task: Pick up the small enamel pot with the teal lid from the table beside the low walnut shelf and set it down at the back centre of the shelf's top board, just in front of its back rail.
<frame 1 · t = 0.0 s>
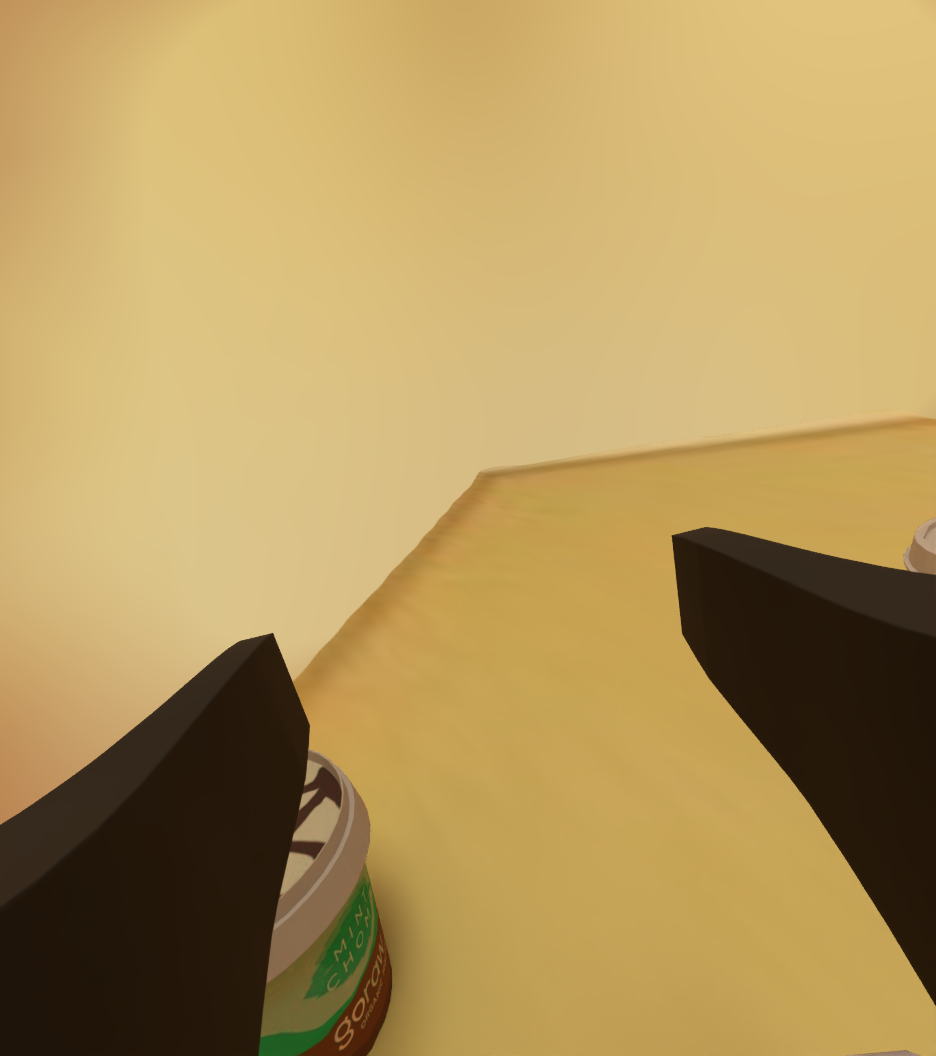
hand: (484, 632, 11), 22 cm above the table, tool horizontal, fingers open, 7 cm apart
food container: (351, 1007, 27), on the table
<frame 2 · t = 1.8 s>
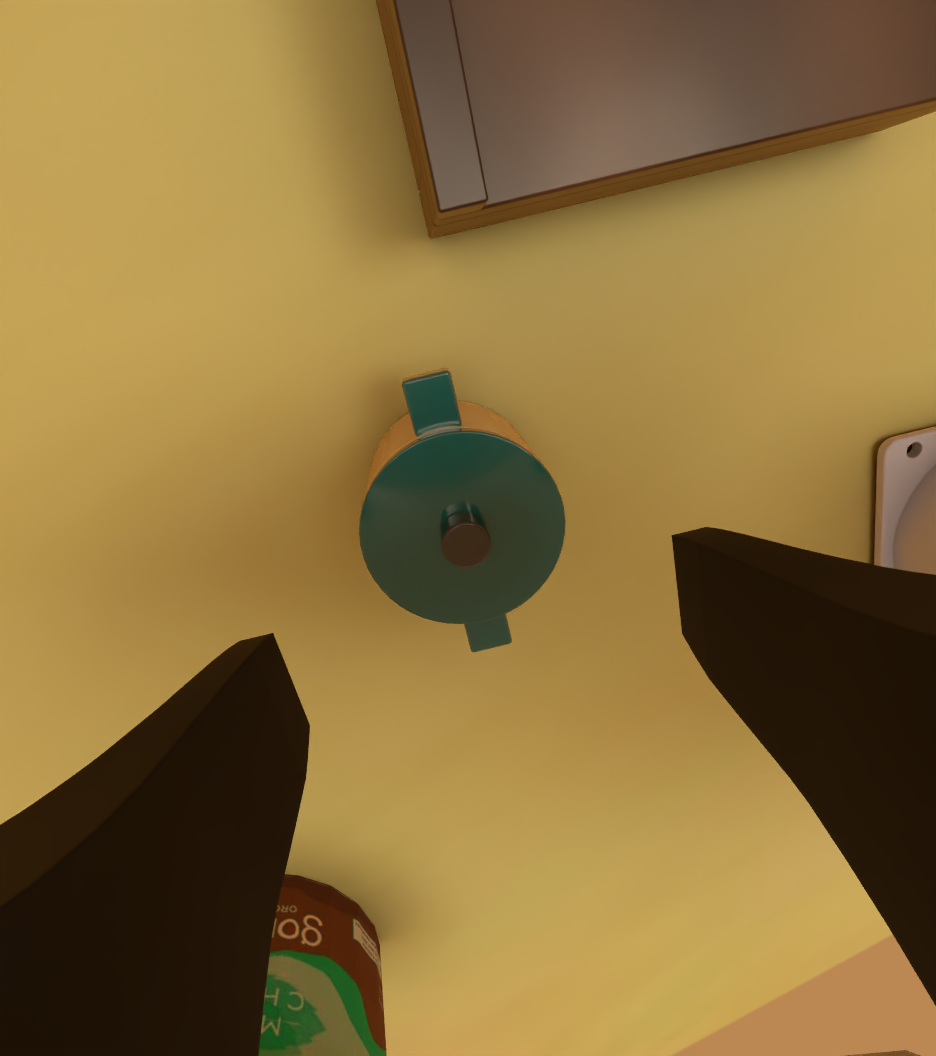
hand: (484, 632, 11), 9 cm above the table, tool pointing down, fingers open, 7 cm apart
food container: (260, 903, 26), on the table
pot: (451, 481, 20), on the table
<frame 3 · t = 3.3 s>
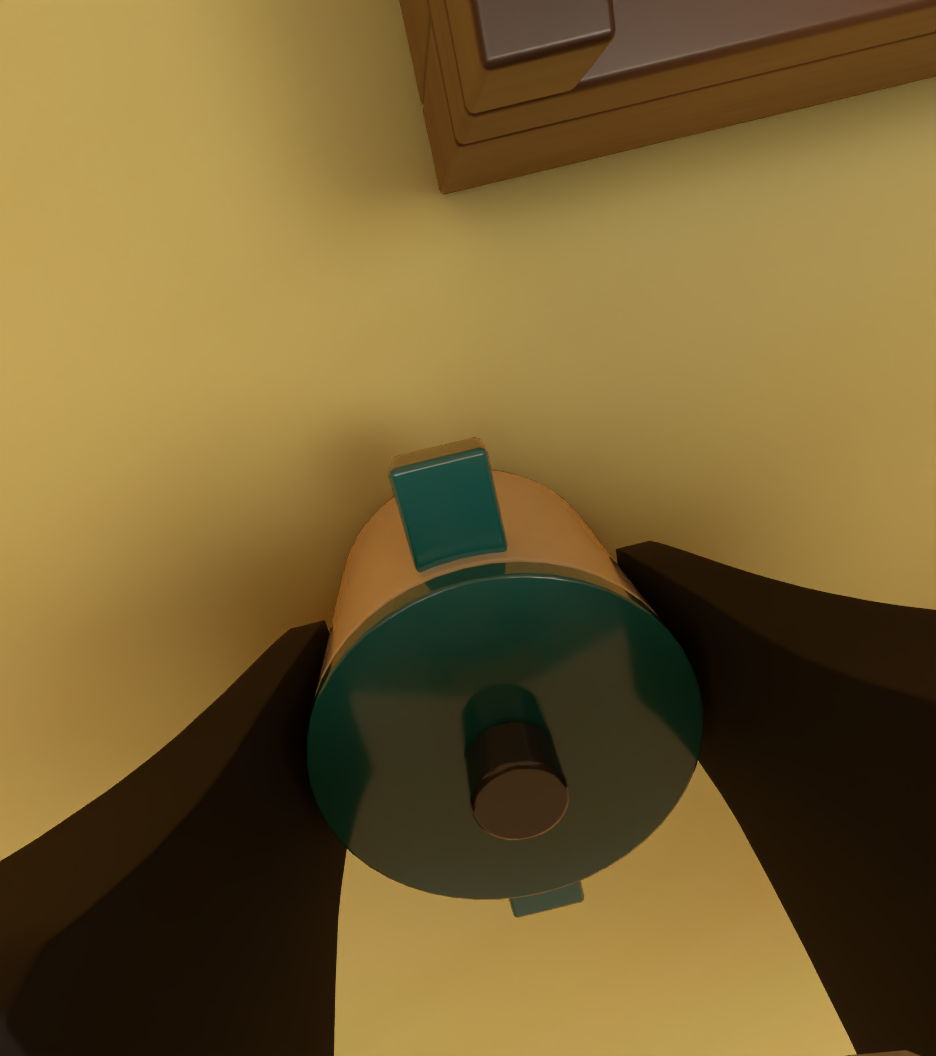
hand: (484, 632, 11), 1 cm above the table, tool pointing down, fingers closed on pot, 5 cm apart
pot: (474, 594, 12), on the table, touching gripper
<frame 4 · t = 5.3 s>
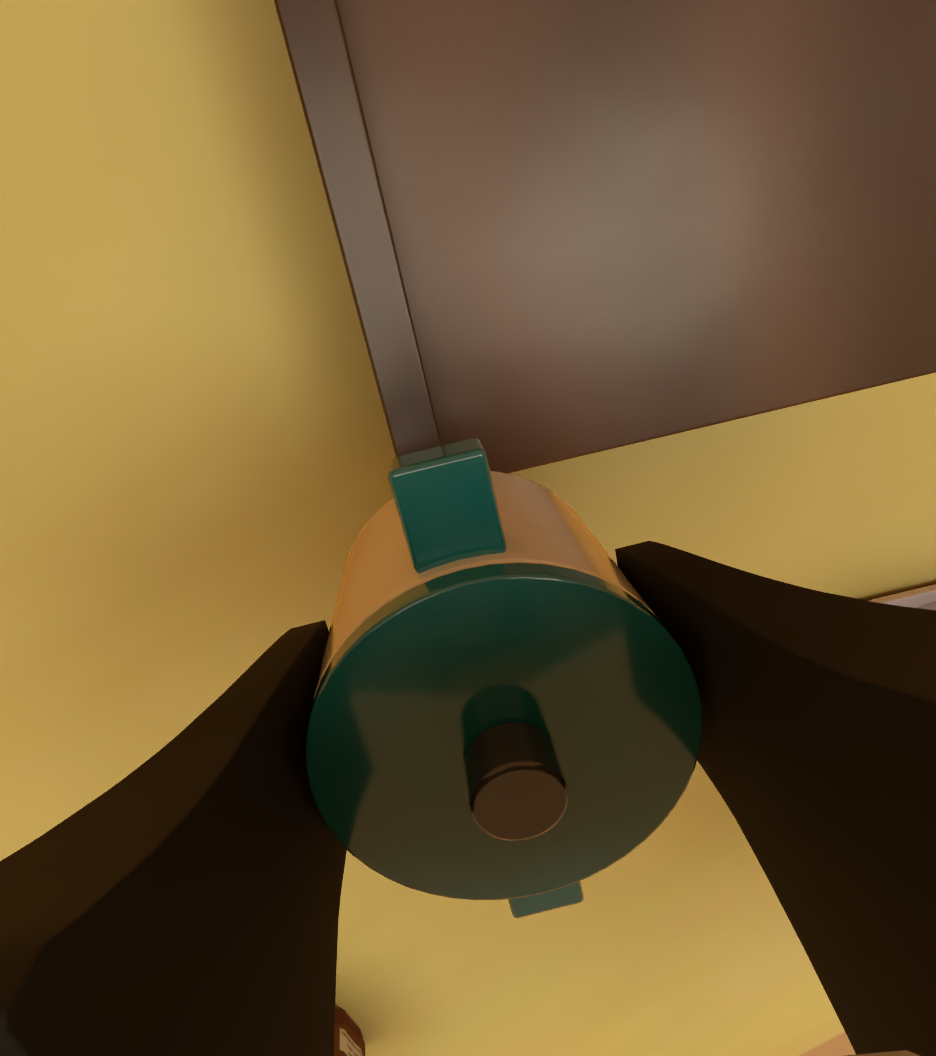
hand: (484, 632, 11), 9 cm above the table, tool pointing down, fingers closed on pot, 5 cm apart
shelf: (573, 52, 15), on the table
food container: (252, 1010, 27), on the table
pot: (473, 595, 12), point 7 cm above the table, touching gripper
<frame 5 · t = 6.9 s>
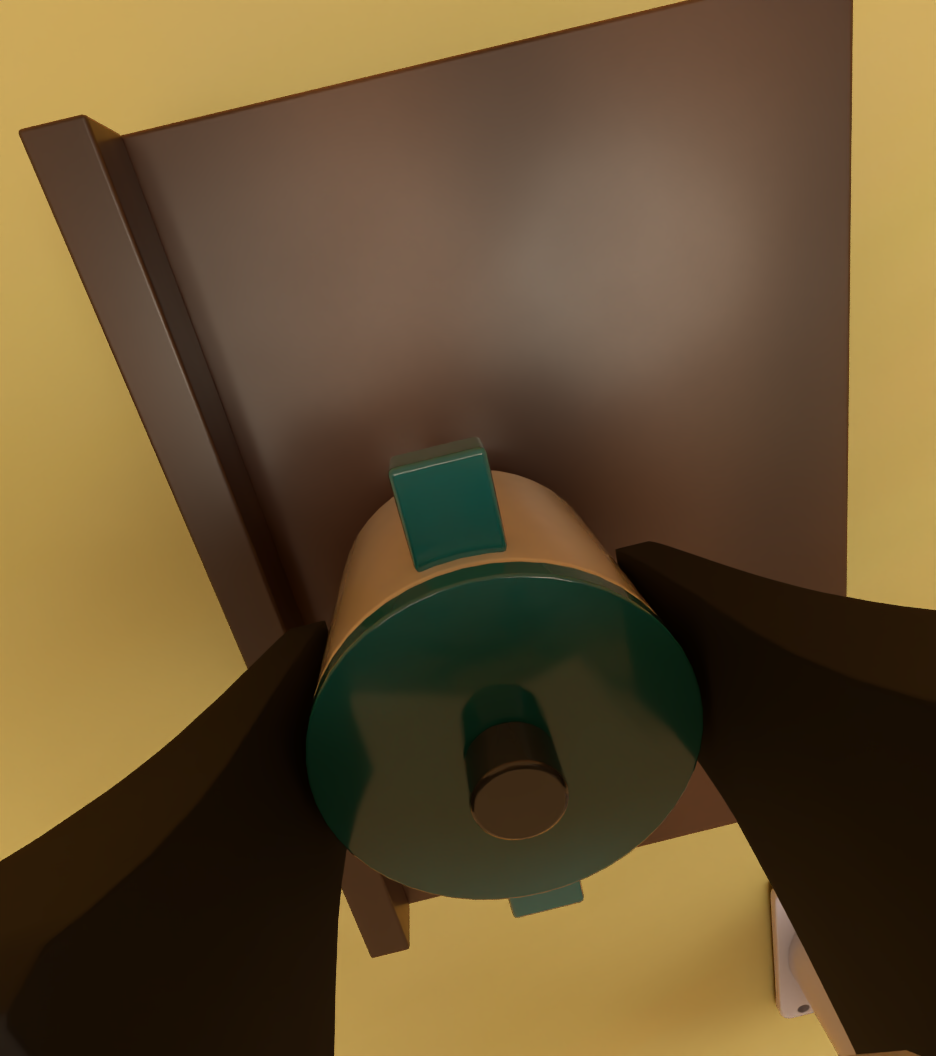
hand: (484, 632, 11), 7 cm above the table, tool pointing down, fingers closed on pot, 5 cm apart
shelf: (518, 492, 17), on the table
pot: (473, 594, 12), point 5 cm above the table, touching gripper
when the fingers open (6 cm above the table, at t = 7.7 s): pot stays where it is, resting on shelf.
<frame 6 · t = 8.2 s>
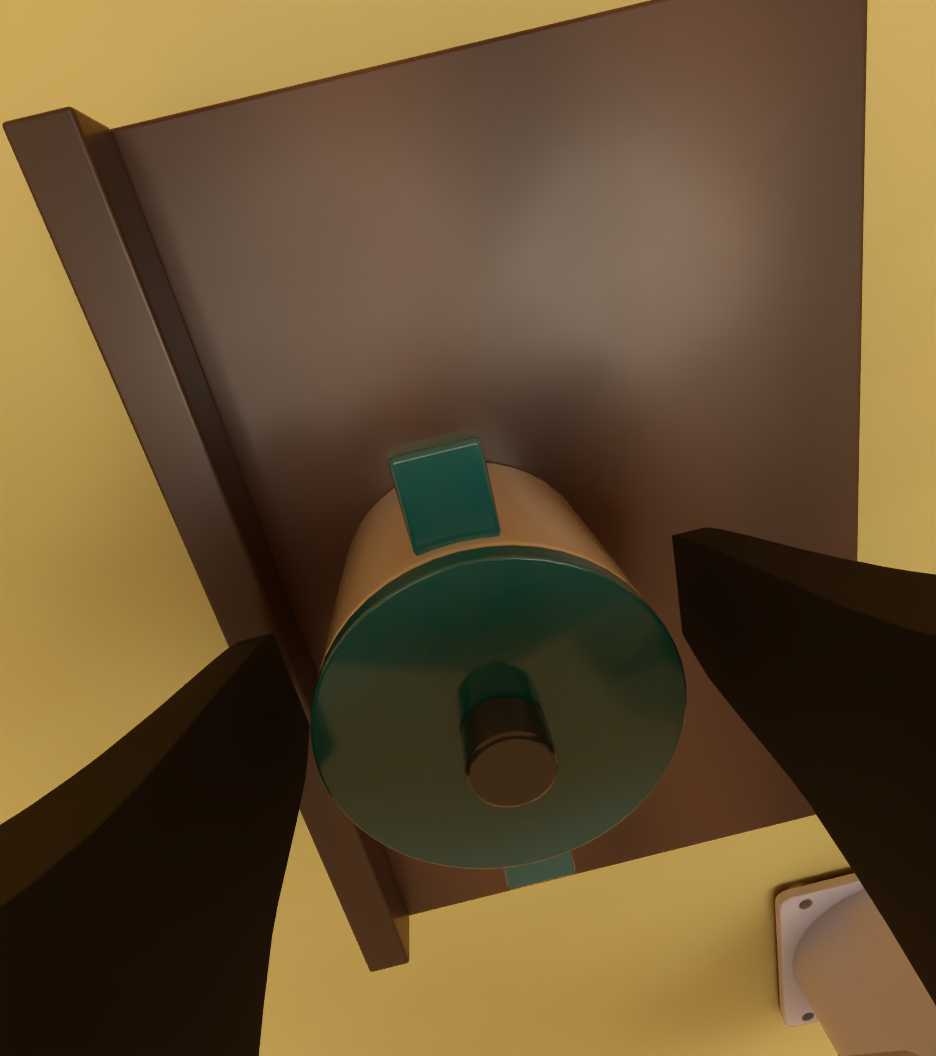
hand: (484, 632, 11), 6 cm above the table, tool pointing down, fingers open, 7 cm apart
shelf: (520, 496, 17), on the table
pot: (470, 583, 13), point 4 cm above the table, touching shelf
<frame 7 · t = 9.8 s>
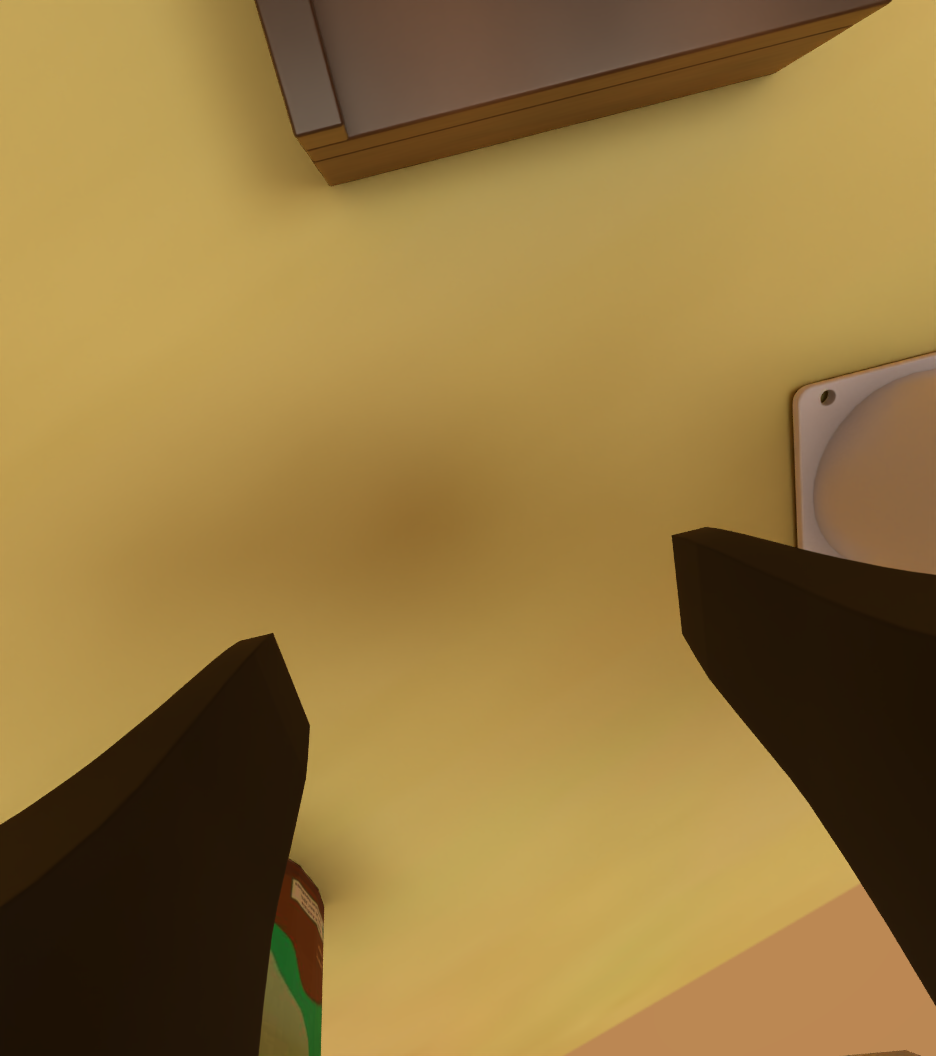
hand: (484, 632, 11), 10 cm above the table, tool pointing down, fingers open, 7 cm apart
food container: (202, 866, 26), on the table
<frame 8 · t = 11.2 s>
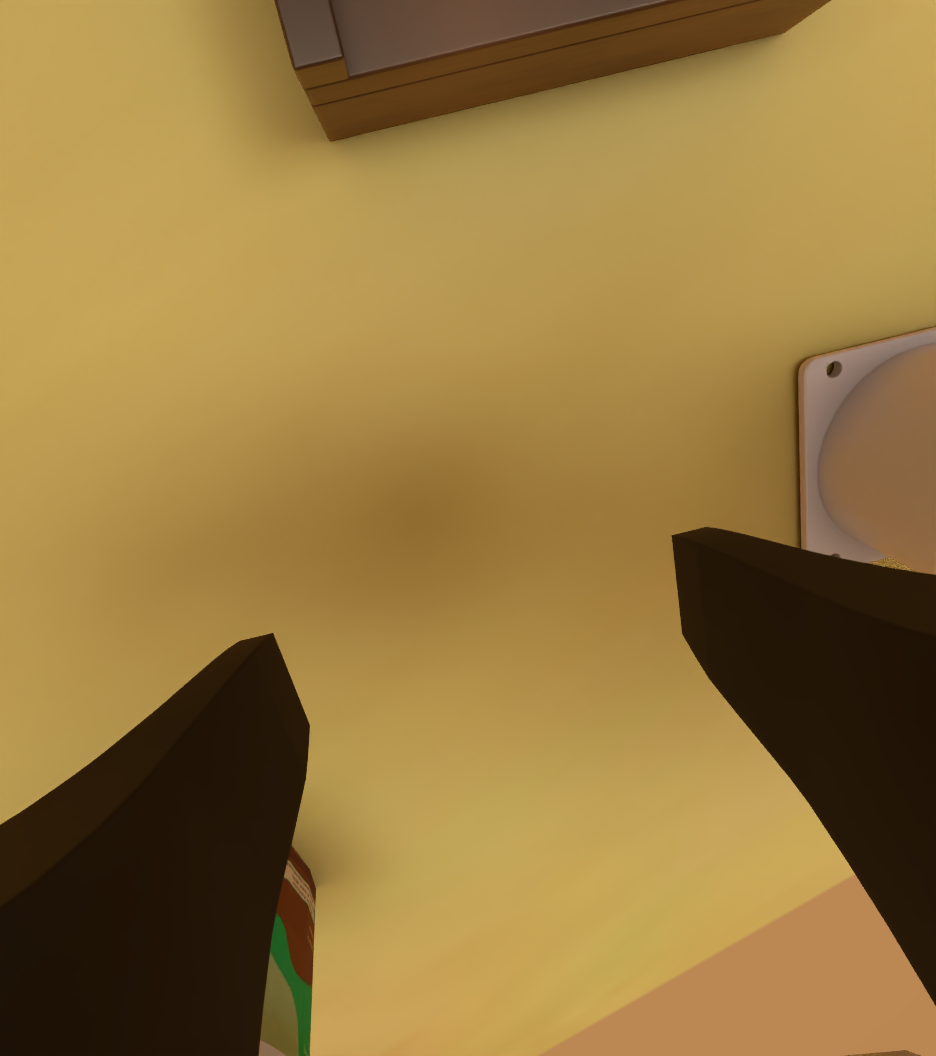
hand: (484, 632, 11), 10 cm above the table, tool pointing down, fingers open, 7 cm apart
food container: (192, 845, 25), on the table
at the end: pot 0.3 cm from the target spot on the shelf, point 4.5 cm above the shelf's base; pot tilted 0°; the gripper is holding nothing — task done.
